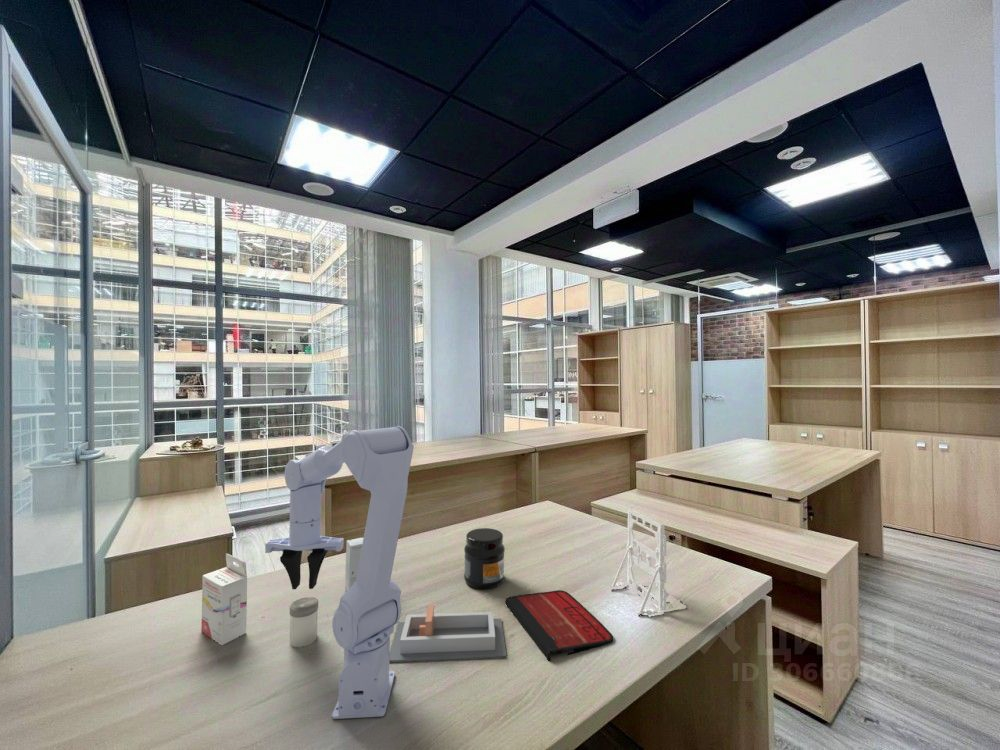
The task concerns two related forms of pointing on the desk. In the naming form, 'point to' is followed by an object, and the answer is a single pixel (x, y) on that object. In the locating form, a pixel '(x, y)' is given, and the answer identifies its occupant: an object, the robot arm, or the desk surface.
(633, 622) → the desk surface
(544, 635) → the binder
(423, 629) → the pusher
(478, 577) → the supplement container
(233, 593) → the ink cartridge box
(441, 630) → the base
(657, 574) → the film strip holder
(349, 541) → the skincare box
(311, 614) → the jar
